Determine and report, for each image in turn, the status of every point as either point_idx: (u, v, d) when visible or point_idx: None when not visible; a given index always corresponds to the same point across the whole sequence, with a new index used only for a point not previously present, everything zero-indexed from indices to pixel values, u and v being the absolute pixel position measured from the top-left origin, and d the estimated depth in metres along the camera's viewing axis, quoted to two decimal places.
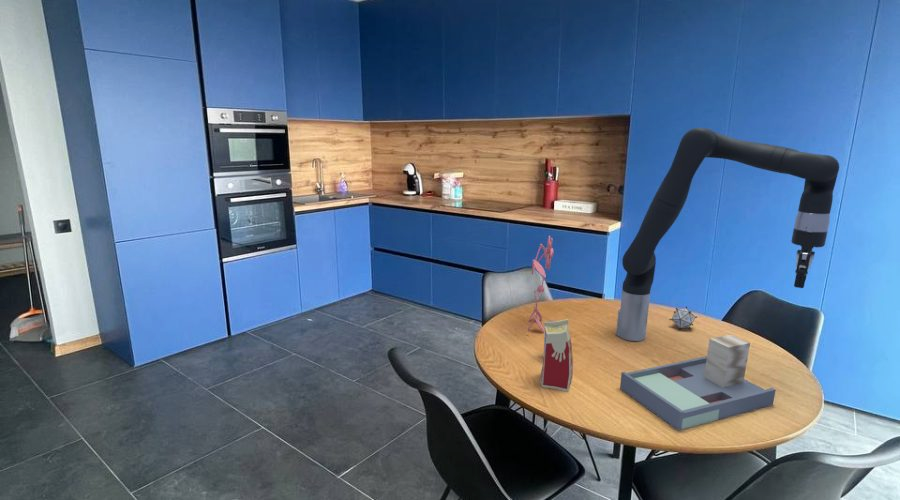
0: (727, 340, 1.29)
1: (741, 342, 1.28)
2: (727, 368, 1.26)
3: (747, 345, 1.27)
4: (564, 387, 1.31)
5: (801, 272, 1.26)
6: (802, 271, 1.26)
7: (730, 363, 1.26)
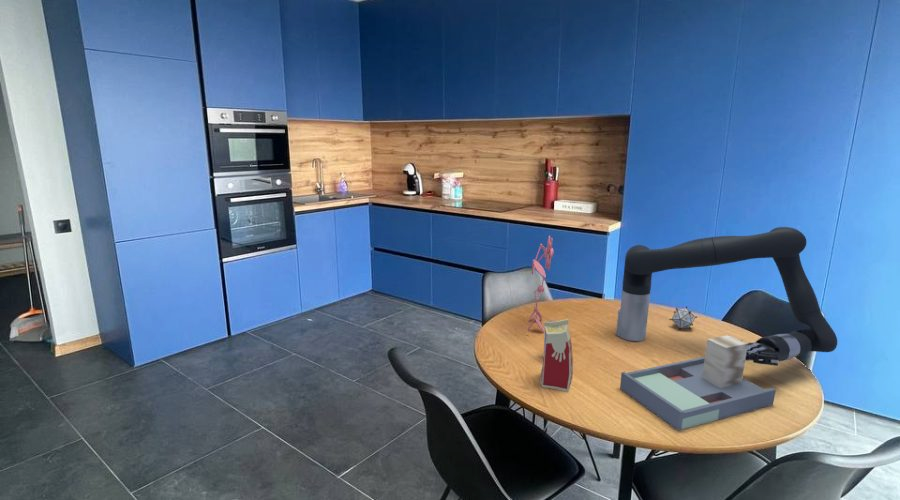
0: (724, 340, 1.29)
1: (739, 342, 1.27)
2: (725, 369, 1.26)
3: (745, 346, 1.27)
4: (564, 387, 1.31)
5: (756, 359, 1.30)
6: (758, 359, 1.30)
7: (728, 364, 1.26)
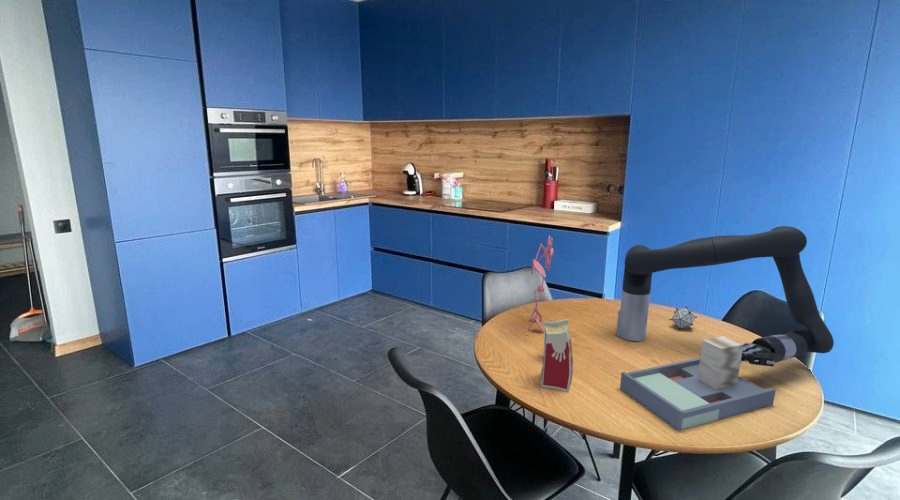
0: (720, 341, 1.28)
1: (734, 343, 1.27)
2: (720, 370, 1.25)
3: (740, 346, 1.26)
4: (564, 387, 1.31)
5: (752, 360, 1.29)
6: (754, 360, 1.29)
7: (724, 365, 1.25)
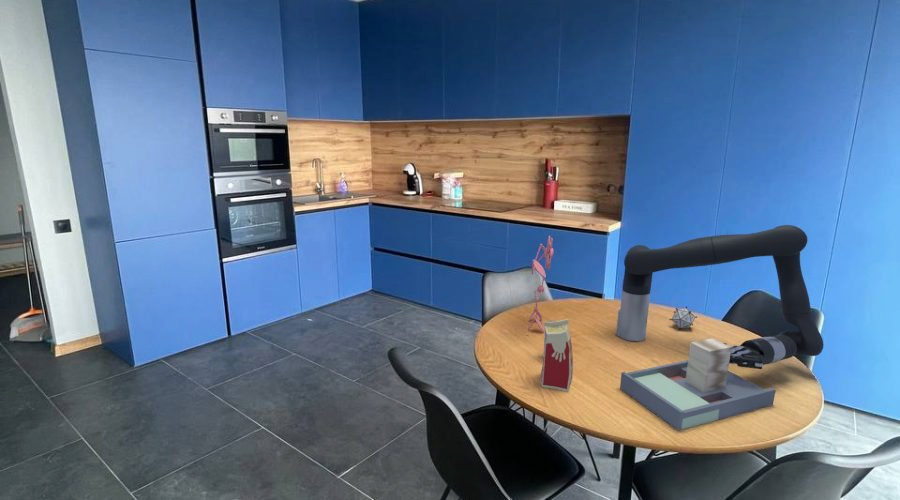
0: (708, 344, 1.26)
1: (722, 346, 1.25)
2: (708, 373, 1.24)
3: (728, 349, 1.25)
4: (564, 387, 1.31)
5: (740, 362, 1.28)
6: (742, 363, 1.28)
7: (711, 368, 1.24)
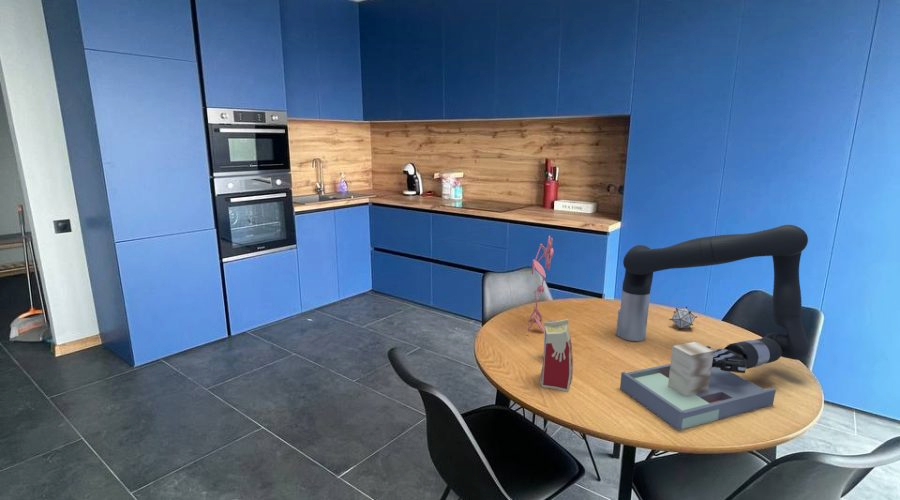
0: (690, 347, 1.24)
1: (705, 349, 1.23)
2: (690, 377, 1.22)
3: (711, 353, 1.22)
4: (564, 387, 1.31)
5: (723, 366, 1.26)
6: (725, 366, 1.26)
7: (693, 372, 1.22)
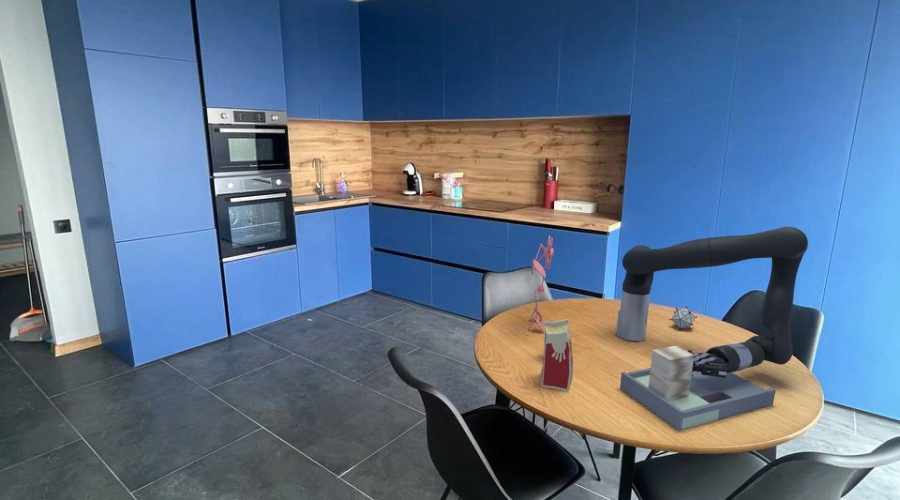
0: (670, 351, 1.22)
1: (685, 354, 1.21)
2: (670, 382, 1.19)
3: (691, 357, 1.20)
4: (564, 387, 1.31)
5: (703, 370, 1.23)
6: (706, 371, 1.23)
7: (673, 377, 1.19)
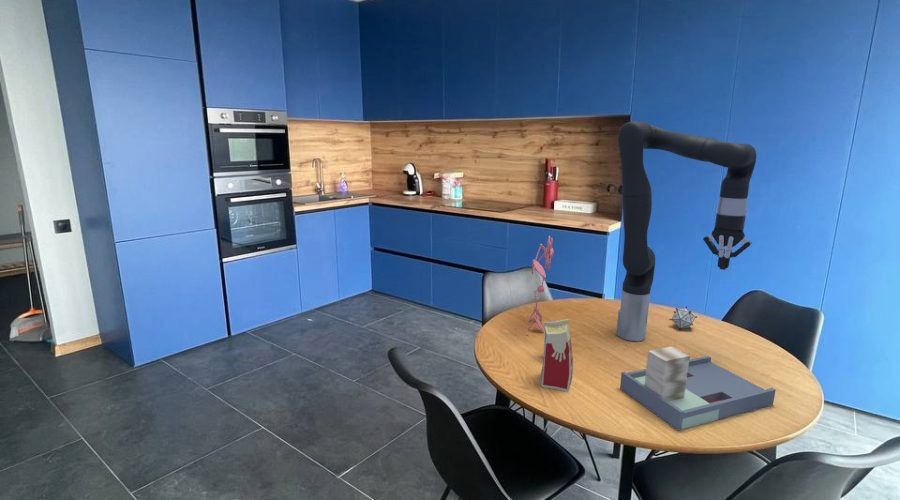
0: (666, 352, 1.21)
1: (680, 354, 1.20)
2: (665, 383, 1.19)
3: (686, 358, 1.19)
4: (564, 387, 1.31)
5: (736, 255, 1.38)
6: None
7: (668, 378, 1.19)
